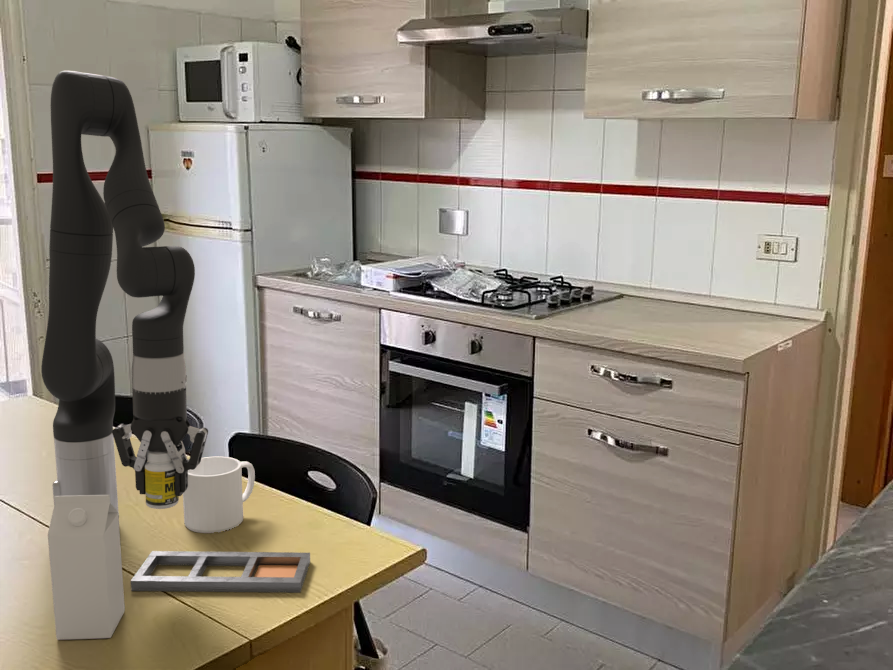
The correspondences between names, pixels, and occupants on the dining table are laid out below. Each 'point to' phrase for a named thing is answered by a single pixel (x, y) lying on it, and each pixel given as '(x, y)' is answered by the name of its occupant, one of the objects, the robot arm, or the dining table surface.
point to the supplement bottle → (160, 480)
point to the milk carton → (85, 567)
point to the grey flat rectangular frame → (221, 584)
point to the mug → (216, 494)
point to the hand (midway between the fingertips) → (162, 492)
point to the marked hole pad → (276, 571)
